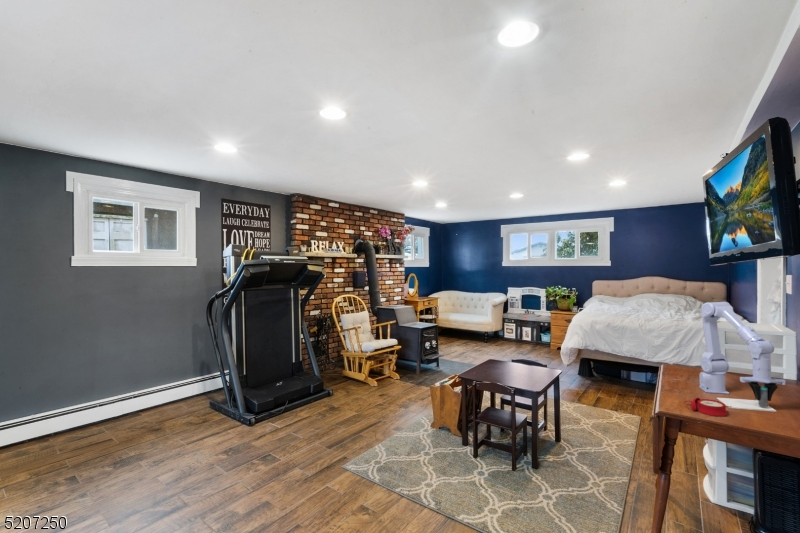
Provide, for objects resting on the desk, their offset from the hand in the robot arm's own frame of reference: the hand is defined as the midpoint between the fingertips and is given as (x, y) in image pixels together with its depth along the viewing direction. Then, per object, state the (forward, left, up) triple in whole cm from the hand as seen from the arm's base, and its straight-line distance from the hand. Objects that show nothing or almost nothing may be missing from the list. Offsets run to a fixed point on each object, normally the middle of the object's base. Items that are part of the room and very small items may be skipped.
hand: (762, 399), depth 161 cm
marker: (0, 0, -2) cm, 2 cm away
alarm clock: (-23, -9, -4) cm, 25 cm away
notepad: (-5, +3, -4) cm, 7 cm away
